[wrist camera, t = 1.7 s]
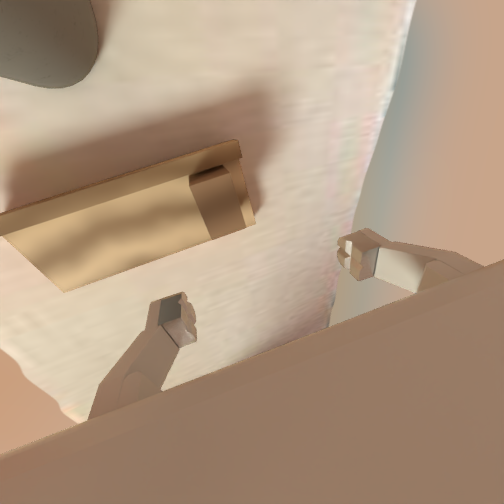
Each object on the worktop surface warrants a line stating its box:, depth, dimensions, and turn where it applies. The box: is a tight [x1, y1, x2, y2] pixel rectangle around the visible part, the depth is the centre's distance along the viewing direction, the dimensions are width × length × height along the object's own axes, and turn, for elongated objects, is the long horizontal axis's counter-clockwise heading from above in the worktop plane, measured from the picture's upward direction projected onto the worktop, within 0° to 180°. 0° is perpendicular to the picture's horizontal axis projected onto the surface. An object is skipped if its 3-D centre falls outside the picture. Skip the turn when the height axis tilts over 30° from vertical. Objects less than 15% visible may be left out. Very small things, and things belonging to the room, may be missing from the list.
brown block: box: [189, 165, 246, 240], centre depth 23 cm, size 7×4×5 cm, turn 14°
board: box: [0, 139, 256, 293], centre depth 24 cm, size 11×26×4 cm, turn 104°
